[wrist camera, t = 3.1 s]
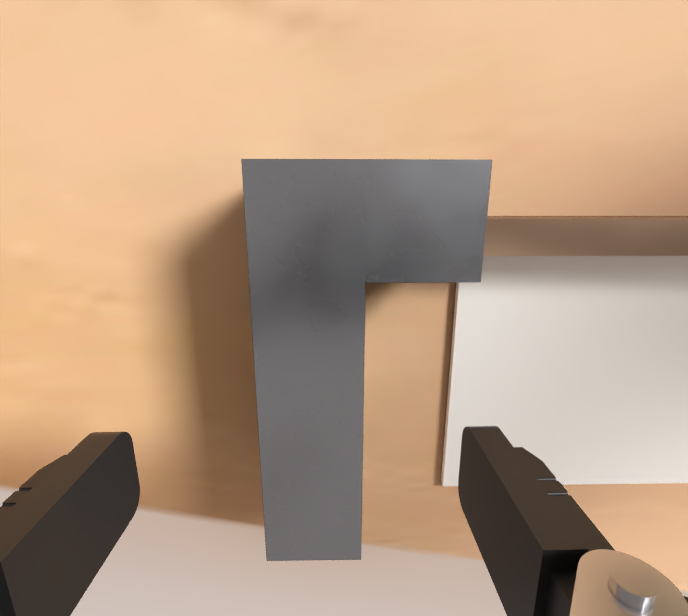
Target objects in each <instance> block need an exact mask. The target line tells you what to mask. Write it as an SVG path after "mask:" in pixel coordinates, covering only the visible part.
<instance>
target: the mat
mask: <svg viewBox="0 0 688 616" xmlns="http://www.w3.org/2000/svg"><path fill="white" fill-rule="evenodd" d="M467 426H497V427H499V428H500V430H501V431H502V432H503V434H504V435H505V436H506V438H507V439H508V440H509V442H510V443H511V444H512V446H513V447H523V448H524V449H526V450H527V451H529V452H530V453H532V454H533V455H535V456H536V457H537V458H539V459H540V460H542V461H543V462H544V464H545V465H546V466H547V467H548V468H549V470H550V471H551V472H552V473H553V475H554V476H555V477H556V481H559V482H560V483H561V484H562V485H572V484H649V483H688V256H483V264H482V275H481V282H456V295H455V308H454V321H453V334H452V347H451V359H450V372H449V385H448V398H447V411H446V424H445V436H444V449H443V462H442V475H441V483H442V485H443V486H458V479H459V466H460V454H461V442H462V433H463V429H464V428H465V427H467Z"/></svg>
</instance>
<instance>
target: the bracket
mask: <svg viewBox="0 0 688 616" xmlns="http://www.w3.org/2000/svg"><path fill="white" fill-rule="evenodd" d="M241 160H242V176H243V192H244V207H245V223H246V239H247V255H248V271H249V287H250V303H251V319H252V335H253V351H254V367H255V383H256V399H257V415H258V430H259V446H260V462H261V478H262V494H263V510H264V526H265V541H266V558H267V561H284V560H286V561H287V560H361V530H362V469H363V407H364V346H365V285H366V283H440V282H481V275H482V264H483V253H484V243H485V232H486V222H487V211H488V201H489V190H490V179H491V169H492V160H407V159H241Z"/></svg>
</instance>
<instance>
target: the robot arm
mask: <svg viewBox="0 0 688 616" xmlns="http://www.w3.org/2000/svg"><path fill="white" fill-rule="evenodd" d="M458 489H459V497H460V502H461V506H462V509H463V512H464V514H465V517H466V519H467V521H468V524H469V526H470V528H471V531H472V533H473V536H474V538H475V540H476V543H477V545H478V547H479V550H480V552H481V555H482V557H483V559H484V562H485V564H486V566H487V569H488V571H489V573H490V576H491V578H492V581H493V583H494V585H495V588H496V590H497V593H498V595H499V597H500V600H501V602H502V604H503V607H504V609H505V611H506V614H507V616H688V597H685V596H683V595H682V593H681V592H680V591H679V590H678V588H677V587H676V586H675V585H674V584H673V583H672V582H671V581H670V580H669V579H668V578H667V577H666V576H664V575H663V574H662V573H661V572H659V571H658V570H656V569H655V568H653V567H652V566H651V565H649V564H647V563H645V562H644V561H642V560H640V559H638V558H635V557H633V556H631V555H628V554H625V553H622V552H618V551H615V550H614V549H613V547H612V546H611V545H610V544H609V542H608V541H607V540H606V539H605V537H604V536H603V535H602V534H601V533H600V531H599V530H598V529H597V528H596V526H595V525H594V524H593V523H592V521H591V520H590V519H589V518H588V517H587V515H586V514H585V513H584V512H583V510H582V509H581V508H580V507H579V505H578V504H577V503H576V502H575V500H574V499H573V498H572V497H571V496H570V495H569V496H568V494H567V491H566V489H565V488H564V487H563V486H562V484H561V483H560V482H559V481H556V477H555V476H554V475H553V473H552V472H551V471H550V470H549V468H548V467H547V466H546V465H545V464H544V462H543V461H542V460H540V459H539V458H537V457H536V456H535V455H533V454H532V453H530V452H529V451H527V450H526V449H524V448H523V447H513V446H512V444H511V443H510V442H509V440H508V439H507V438H506V436H505V435H504V434H503V432H502V431H501V430H500V428H499V427H497V426H467V427H465V428H464V429H463V433H462V442H461V454H460V466H459V479H458ZM139 496H140V486H139V479H138V473H137V467H136V461H135V454H134V448H133V442H132V438H131V436H130V434H129V433H127V432H94V433H91V434H89V435H88V436H87V437H86V438H85V439H83V440H82V441H81V442H80V443H79V444H78V445H77V446H76V447H75V448H74V449H73V450H72V451H71V452H70V453H69V454H68V455H64V456H62V457H60V458H59V459H57V460H55V461H54V462H52V463H50V464H48V465H47V466H45V467H43V468H42V469H40V470H38V471H37V472H36V473H35V474H34V475H33V476H32V477H31V478H30V479H29V480H27V481H26V482H25V483H24V484H23V485H22V486H21V487H20V488H19V491H15V492H14V493H13V494H12V495H11V496H10V497H9V498H8V499H6V500H5V501H4V502H3V505H2V507H0V616H70V615H71V613H72V612H73V610H74V609H75V607H76V605H77V604H78V602H79V601H80V599H81V598H82V596H83V594H84V593H85V591H86V590H87V588H88V587H89V585H90V583H91V582H92V580H93V579H94V577H95V576H96V574H97V573H98V571H99V569H100V568H101V566H102V565H103V563H104V562H105V560H106V558H107V557H108V555H109V554H110V552H111V551H112V549H113V547H114V546H115V544H116V543H117V541H118V540H119V538H120V537H121V535H122V533H123V532H124V530H125V529H126V527H127V526H128V524H129V522H130V521H131V519H132V518H133V516H134V514H135V512H136V509H137V506H138V502H139Z"/></svg>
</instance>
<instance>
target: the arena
mask: <svg viewBox="0 0 688 616" xmlns="http://www.w3.org/2000/svg"><path fill="white" fill-rule="evenodd" d="M483 256H688V216H487V222H486V232H485V243H484V253H483Z"/></svg>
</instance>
